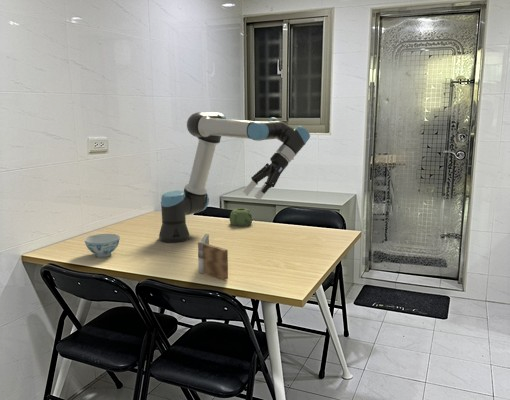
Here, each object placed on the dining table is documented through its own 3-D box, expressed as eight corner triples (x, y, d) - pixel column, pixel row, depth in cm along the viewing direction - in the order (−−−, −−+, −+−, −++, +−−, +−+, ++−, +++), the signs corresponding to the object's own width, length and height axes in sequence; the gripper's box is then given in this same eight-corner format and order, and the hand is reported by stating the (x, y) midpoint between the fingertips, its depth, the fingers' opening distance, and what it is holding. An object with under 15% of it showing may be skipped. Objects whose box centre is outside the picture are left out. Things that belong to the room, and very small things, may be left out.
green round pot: (236, 220, 273) (236, 206, 272) (256, 223, 268) (256, 208, 266) (222, 226, 259) (222, 211, 258) (243, 229, 253) (243, 213, 252)
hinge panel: (203, 260, 201) (203, 233, 198) (210, 261, 201) (210, 233, 198) (198, 273, 186) (197, 244, 183) (205, 273, 186) (204, 244, 183)
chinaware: (84, 252, 213) (83, 235, 212) (118, 248, 219) (117, 232, 218) (86, 261, 200) (85, 244, 198) (123, 257, 206) (122, 240, 204)
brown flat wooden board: (197, 270, 187) (196, 242, 185) (202, 269, 189) (202, 241, 187) (223, 280, 177) (223, 250, 175) (229, 278, 179) (228, 248, 177)
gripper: (301, 166, 189) (268, 206, 186) (276, 161, 212) (246, 197, 209) (289, 153, 186) (255, 194, 183) (264, 150, 209) (234, 186, 206)
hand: (250, 196), depth 196 cm, fingers open, 13 cm apart
